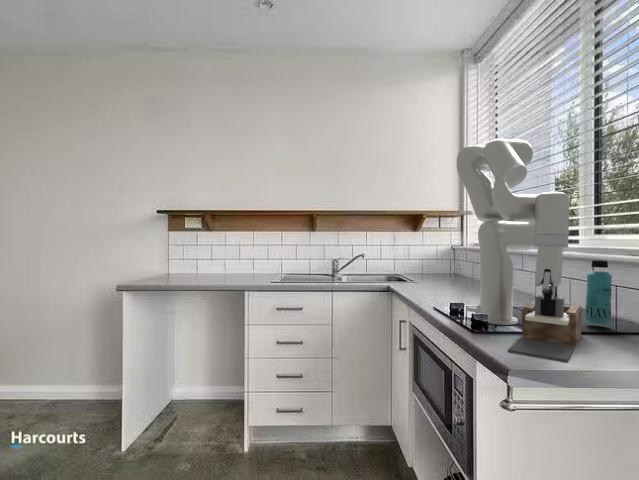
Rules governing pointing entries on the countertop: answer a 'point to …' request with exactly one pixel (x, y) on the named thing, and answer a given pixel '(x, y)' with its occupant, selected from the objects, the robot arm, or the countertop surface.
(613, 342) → the countertop surface
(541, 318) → the cover plate
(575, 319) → the walnut box
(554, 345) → the charcoal mat
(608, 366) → the countertop surface
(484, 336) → the countertop surface
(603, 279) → the beverage bottle
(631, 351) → the countertop surface
